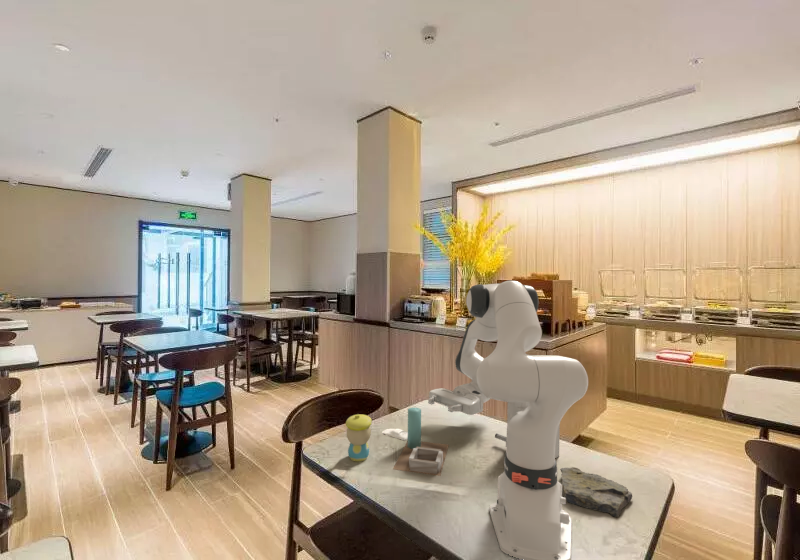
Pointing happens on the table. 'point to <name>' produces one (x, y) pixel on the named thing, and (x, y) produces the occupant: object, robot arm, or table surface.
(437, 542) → the table surface
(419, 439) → the teal peg
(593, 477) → the stone
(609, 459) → the table surface
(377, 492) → the table surface
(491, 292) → the robot arm
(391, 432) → the toy car
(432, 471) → the walnut board
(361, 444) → the toy
